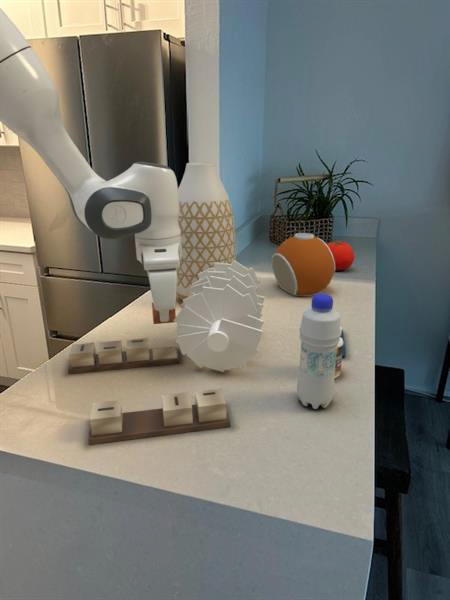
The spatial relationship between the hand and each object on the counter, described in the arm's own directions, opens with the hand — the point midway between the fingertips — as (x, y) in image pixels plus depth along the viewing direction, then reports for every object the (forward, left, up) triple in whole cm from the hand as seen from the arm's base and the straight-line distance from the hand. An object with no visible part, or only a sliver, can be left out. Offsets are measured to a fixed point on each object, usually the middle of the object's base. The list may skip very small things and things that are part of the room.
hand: (163, 315), depth 88 cm
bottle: (+24, -22, -10) cm, 34 cm away
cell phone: (+36, -1, -10) cm, 38 cm away
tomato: (+64, +56, -10) cm, 86 cm away
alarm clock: (+44, +37, -10) cm, 59 cm away
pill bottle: (+30, -13, -10) cm, 35 cm away
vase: (+13, +35, -10) cm, 39 cm away
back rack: (-9, 0, -10) cm, 13 cm away
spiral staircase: (+12, +1, -10) cm, 16 cm away
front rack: (-3, -23, -10) cm, 25 cm away
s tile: (0, 0, -1) cm, 1 cm away
